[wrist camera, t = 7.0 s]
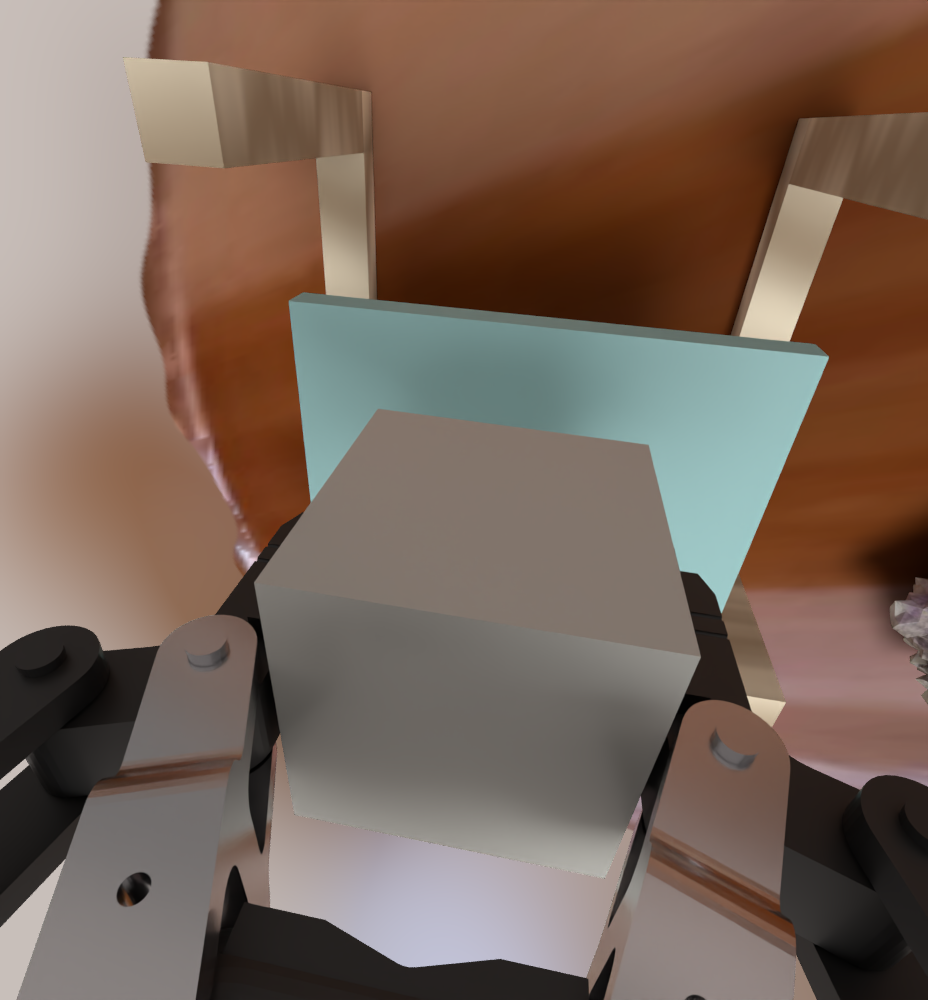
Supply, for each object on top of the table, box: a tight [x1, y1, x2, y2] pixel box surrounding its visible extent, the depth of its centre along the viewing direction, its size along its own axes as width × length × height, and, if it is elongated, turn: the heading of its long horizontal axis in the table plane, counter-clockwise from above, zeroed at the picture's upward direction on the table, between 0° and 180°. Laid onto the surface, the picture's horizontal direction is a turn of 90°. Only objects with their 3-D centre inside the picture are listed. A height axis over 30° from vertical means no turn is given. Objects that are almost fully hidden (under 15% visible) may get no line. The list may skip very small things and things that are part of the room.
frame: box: [123, 57, 928, 727], centre depth 22 cm, size 19×20×12 cm
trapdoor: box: [289, 292, 829, 613], centre depth 20 cm, size 16×14×2 cm
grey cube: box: [254, 409, 701, 879], centre depth 10 cm, size 5×5×5 cm
